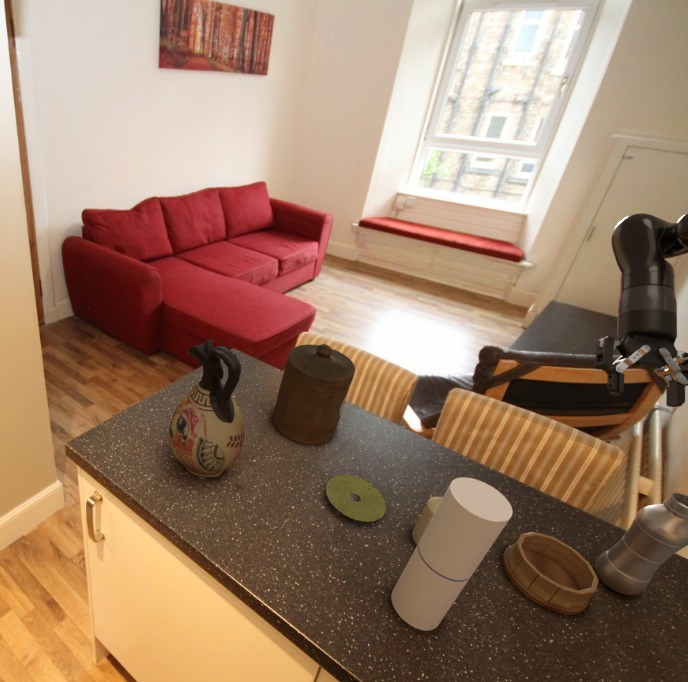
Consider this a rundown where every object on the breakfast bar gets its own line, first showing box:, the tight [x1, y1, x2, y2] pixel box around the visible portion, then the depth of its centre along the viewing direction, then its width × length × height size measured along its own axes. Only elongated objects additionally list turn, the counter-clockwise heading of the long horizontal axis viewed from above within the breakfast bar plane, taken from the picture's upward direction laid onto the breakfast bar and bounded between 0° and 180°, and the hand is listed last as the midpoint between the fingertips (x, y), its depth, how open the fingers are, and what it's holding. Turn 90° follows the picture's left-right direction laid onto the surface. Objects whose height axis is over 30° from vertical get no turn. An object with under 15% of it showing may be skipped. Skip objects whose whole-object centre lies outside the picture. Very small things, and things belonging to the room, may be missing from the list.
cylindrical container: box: [390, 476, 513, 632], centre depth 64 cm, size 7×7×25 cm
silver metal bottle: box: [594, 492, 688, 596], centre depth 72 cm, size 6×7×20 cm
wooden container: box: [272, 343, 356, 445], centre depth 102 cm, size 15×15×22 cm
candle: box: [411, 496, 444, 546], centre depth 79 cm, size 6×6×10 cm
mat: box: [325, 474, 387, 523], centre depth 87 cm, size 11×11×2 cm
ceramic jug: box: [168, 339, 246, 478], centre depth 86 cm, size 17×15×30 cm
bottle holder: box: [501, 531, 600, 616], centre depth 75 cm, size 12×12×5 cm
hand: (645, 400), depth 78 cm, fingers open, 8 cm apart
